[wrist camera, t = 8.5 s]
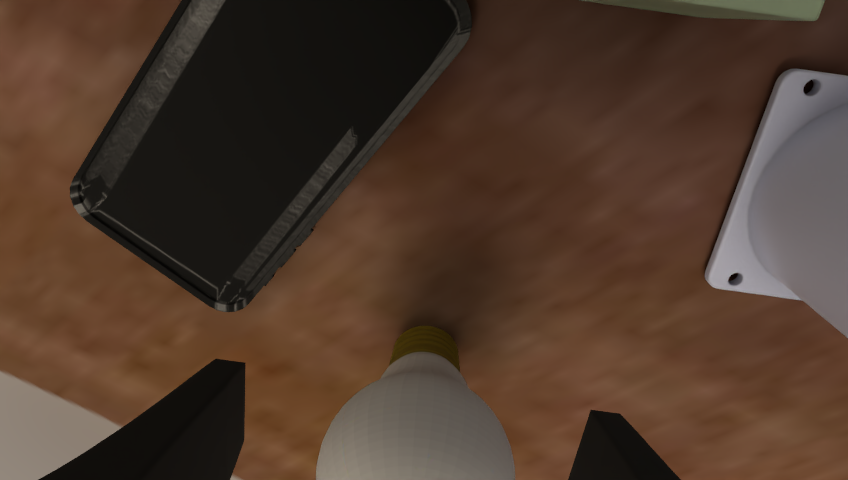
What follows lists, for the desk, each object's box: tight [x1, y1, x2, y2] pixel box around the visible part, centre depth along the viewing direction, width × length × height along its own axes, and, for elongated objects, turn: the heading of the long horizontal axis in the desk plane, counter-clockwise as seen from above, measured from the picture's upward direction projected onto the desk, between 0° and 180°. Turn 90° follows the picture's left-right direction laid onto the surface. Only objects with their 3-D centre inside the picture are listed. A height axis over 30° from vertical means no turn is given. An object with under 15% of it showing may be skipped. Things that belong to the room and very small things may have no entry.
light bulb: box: [316, 326, 515, 480], centre depth 18 cm, size 6×6×10 cm
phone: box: [70, 0, 472, 312], centre depth 19 cm, size 8×1×15 cm
